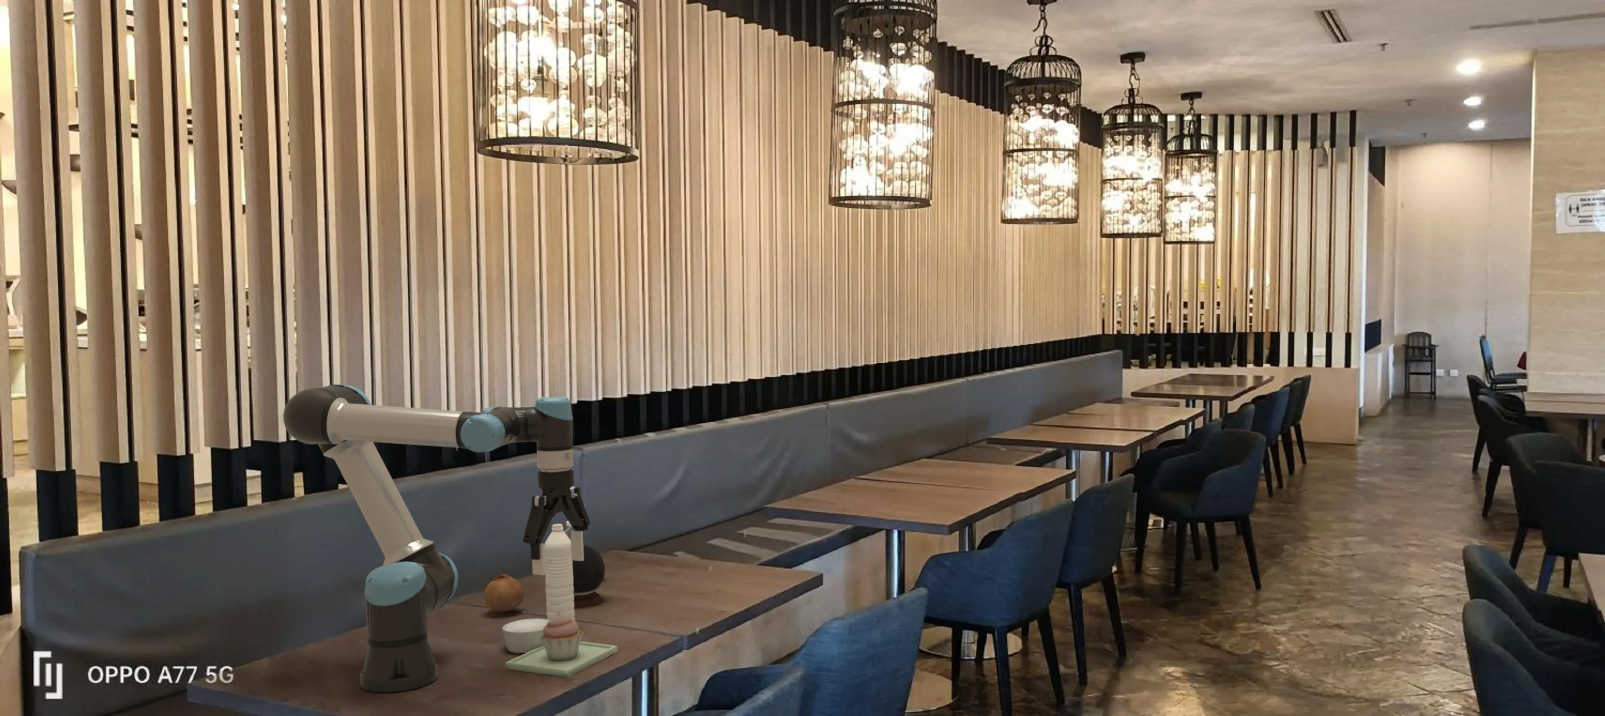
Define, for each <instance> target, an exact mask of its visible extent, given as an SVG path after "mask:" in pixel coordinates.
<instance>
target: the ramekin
mask: <svg viewBox="0 0 1605 716" xmlns="http://www.w3.org/2000/svg"><path fill="white" fill-rule="evenodd" d="M548 621H550V620H547V619H546V618H526V619H518V620H514V621H512V622H510V623H509V622H508V623H507V624H504V625H503V626H502V629H501V631H502V633H503V636H504V641H505V646H506V648H507V650H508V651H509V652H510V653H512V654H513V653H514V654H520V653H527V652H530V651H532V650H534V649H536V648H538V647H541V646H543V645H544V644H543V643H542V641H541V640H540V637H542V636H541V634H544V633H543V628H544V627H545V626H546V625H547V623H548Z"/></svg>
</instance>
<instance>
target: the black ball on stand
mask: <svg viewBox="0 0 1605 716" xmlns="http://www.w3.org/2000/svg"><path fill="white" fill-rule="evenodd" d="M583 551H584V560H583V561H575V560H572V562H573V563H572V565H573V567H572V568H573V587H574V592H573V594H574V600H573V601H574V610H575V609H577V610H578V609H587V608H591V607H595V606H599V605H601V604H602V602H603V597H602V596H601V595H600V593H598V592H597V591H596V590H597V589H598V588H599V587H600V586H601V584H602V582H603V581H604V578H605V574H606V567H605V562H604V559H603V557H602V555H601V553H599V551H598V550H596V549H594V548H593V547H591V546H589V545H585V544H583Z"/></svg>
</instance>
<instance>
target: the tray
mask: <svg viewBox="0 0 1605 716" xmlns="http://www.w3.org/2000/svg"><path fill="white" fill-rule="evenodd" d="M616 652H617V653H618V646H617V645H612V644H605V643H596V642H587V641H581V640H580V644H579V651H578V655H577V656H576V657H575V658H572V659H569V660H563V661H555V660H550V659H549V658H548V656H547V653H546V649H545V647H544V645H543V646H541V647H538V648H536V649H534V650H532V651H530V652H527V653H525V654H521V655H519V656H517V657H514V658H512V659H510V660H508V661H506V662H505V670H511V671H518V672H525V673H531V674H537V675H538V674H540V675H547V676H554V677H559V678H560V677H561V678H570V677H572V676H574V675H576V674H578V673H580V672H582V671H584V670H586V669H588V668H590V667H591V666H594V665H595V664H598V663H600V662H601V661H604V660H605V659H607V658H609V657H611V656H613V655H614V653H615V654H617V653H616ZM612 654H613V655H612ZM610 655H611V656H610ZM608 656H609V657H608ZM606 657H607V658H606ZM593 664H594V665H593Z"/></svg>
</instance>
